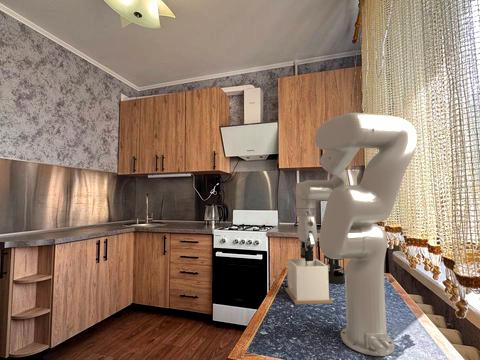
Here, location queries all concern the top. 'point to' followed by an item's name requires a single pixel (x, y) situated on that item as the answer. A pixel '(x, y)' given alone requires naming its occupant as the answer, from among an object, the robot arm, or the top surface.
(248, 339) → the top surface
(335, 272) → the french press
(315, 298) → the white open box
